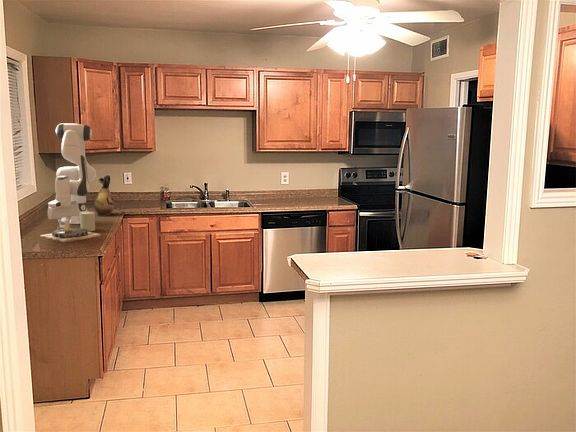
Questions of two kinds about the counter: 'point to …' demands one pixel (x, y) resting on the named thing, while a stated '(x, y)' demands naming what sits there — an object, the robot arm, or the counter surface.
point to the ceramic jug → (104, 198)
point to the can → (87, 220)
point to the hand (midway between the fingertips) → (64, 224)
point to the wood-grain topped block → (65, 223)
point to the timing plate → (69, 239)
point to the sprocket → (69, 232)
